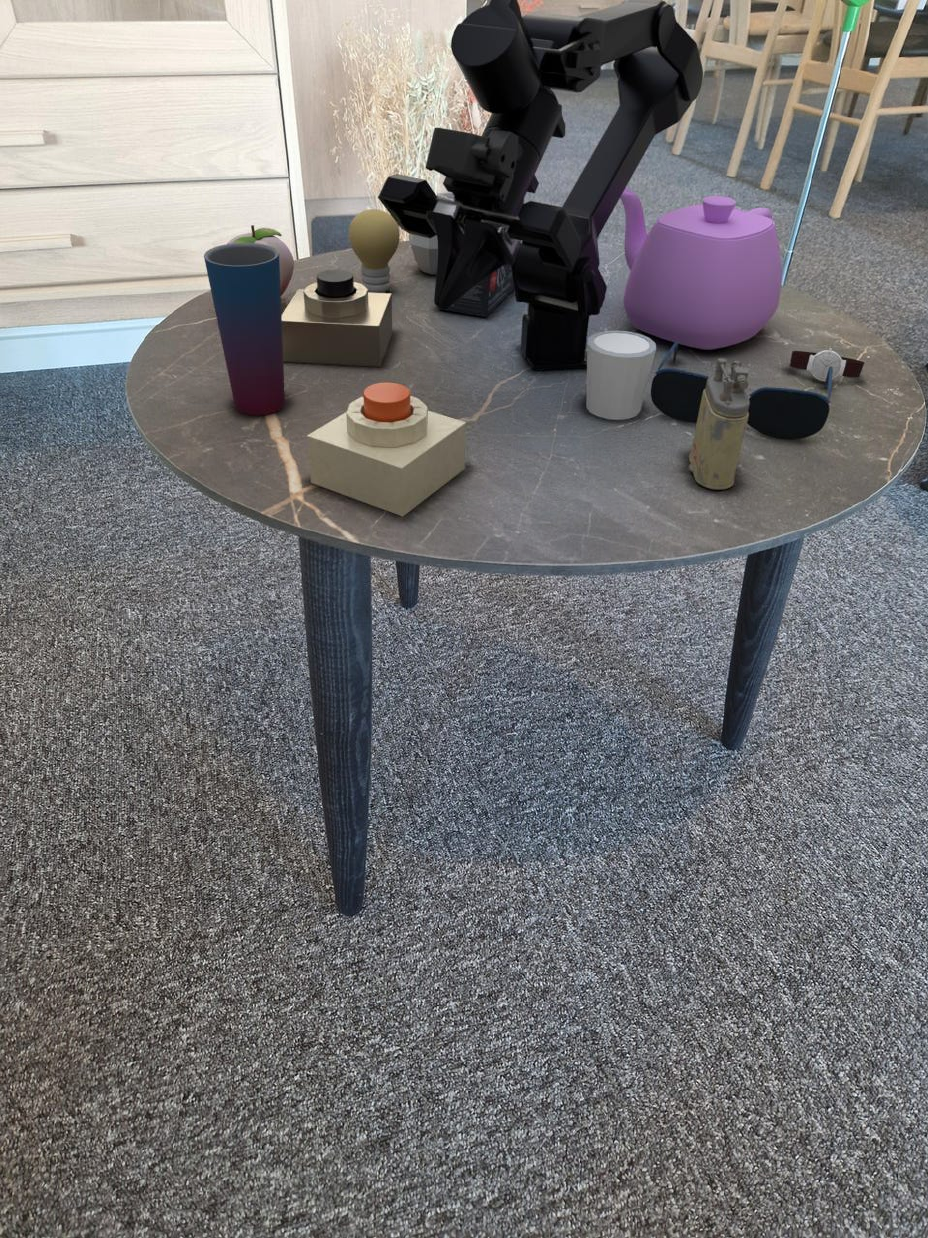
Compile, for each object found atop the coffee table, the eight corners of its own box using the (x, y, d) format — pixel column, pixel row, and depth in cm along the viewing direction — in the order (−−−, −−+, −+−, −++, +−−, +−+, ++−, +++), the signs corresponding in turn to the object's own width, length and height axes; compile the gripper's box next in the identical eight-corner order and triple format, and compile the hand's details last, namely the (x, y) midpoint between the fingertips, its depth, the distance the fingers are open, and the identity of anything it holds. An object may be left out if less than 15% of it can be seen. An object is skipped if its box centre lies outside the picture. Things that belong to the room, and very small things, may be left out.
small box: (487, 319, 115) (491, 217, 107) (435, 310, 117) (436, 209, 109) (519, 285, 125) (525, 190, 117) (471, 278, 126) (474, 183, 119)
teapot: (805, 321, 117) (839, 193, 107) (717, 369, 104) (745, 230, 95) (654, 276, 129) (672, 158, 119) (559, 315, 116) (570, 186, 107)
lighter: (736, 492, 84) (761, 388, 77) (693, 490, 84) (715, 386, 77) (722, 453, 89) (745, 353, 83) (683, 451, 89) (702, 351, 83)
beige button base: (392, 332, 111) (391, 277, 107) (380, 367, 103) (378, 309, 99) (301, 327, 111) (296, 272, 107) (282, 361, 103) (276, 303, 99)
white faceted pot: (456, 283, 125) (458, 232, 121) (400, 277, 126) (399, 226, 122) (470, 264, 131) (471, 215, 127) (416, 258, 132) (416, 210, 128)
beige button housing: (377, 439, 90) (374, 375, 86) (465, 468, 86) (466, 403, 82) (310, 482, 83) (304, 416, 79) (402, 517, 79) (401, 448, 75)
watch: (785, 377, 103) (793, 346, 101) (789, 361, 107) (797, 330, 105) (858, 389, 101) (868, 357, 99) (859, 372, 105) (869, 341, 103)
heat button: (356, 288, 105) (356, 270, 103) (350, 301, 102) (349, 282, 100) (321, 286, 105) (320, 268, 104) (314, 299, 102) (313, 280, 100)
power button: (382, 399, 83) (381, 378, 81) (419, 411, 81) (419, 389, 80) (354, 416, 80) (353, 394, 79) (392, 429, 78) (392, 406, 77)
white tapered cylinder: (604, 427, 93) (613, 360, 88) (567, 400, 98) (573, 335, 93) (659, 414, 95) (671, 349, 91) (621, 388, 100) (630, 324, 96)
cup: (279, 423, 92) (263, 268, 82) (215, 415, 93) (191, 261, 83) (302, 394, 97) (289, 245, 88) (241, 387, 98) (221, 239, 89)
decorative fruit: (249, 292, 120) (239, 210, 114) (306, 301, 118) (299, 218, 112) (210, 316, 113) (197, 231, 107) (270, 326, 111) (261, 240, 105)
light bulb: (342, 294, 120) (338, 212, 114) (365, 279, 125) (362, 200, 119) (387, 302, 118) (385, 219, 112) (408, 286, 123) (407, 206, 117)
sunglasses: (645, 414, 95) (654, 366, 93) (668, 377, 107) (676, 333, 105) (819, 446, 91) (833, 396, 88) (823, 403, 103) (836, 358, 100)
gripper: (387, 71, 80) (312, 235, 80) (579, 99, 72) (496, 281, 72) (439, 155, 90) (372, 301, 90) (612, 187, 82) (540, 347, 82)
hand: (439, 306), depth 83 cm, fingers closed
